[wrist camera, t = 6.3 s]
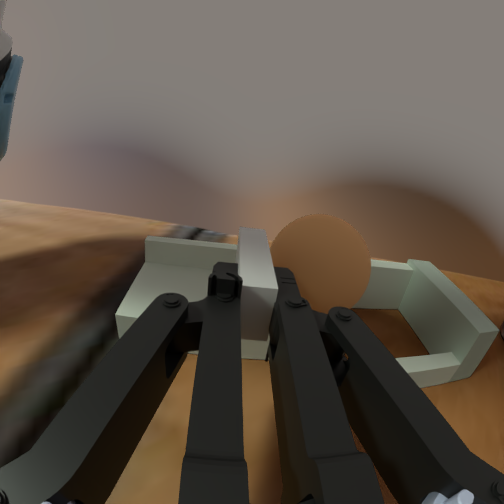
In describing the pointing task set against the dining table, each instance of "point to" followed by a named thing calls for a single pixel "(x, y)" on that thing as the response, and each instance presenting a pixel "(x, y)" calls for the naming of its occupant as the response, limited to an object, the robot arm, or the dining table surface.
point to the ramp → (375, 297)
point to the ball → (324, 260)
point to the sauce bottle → (502, 329)
